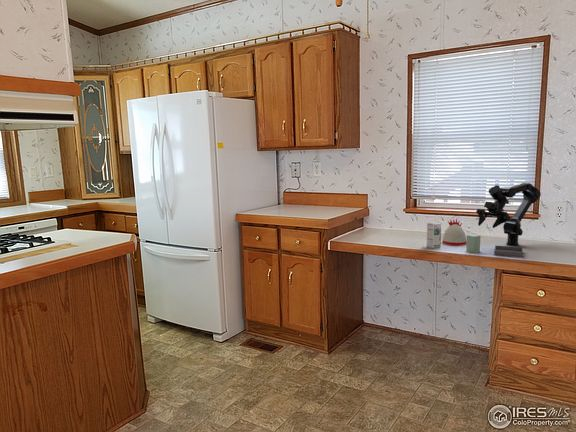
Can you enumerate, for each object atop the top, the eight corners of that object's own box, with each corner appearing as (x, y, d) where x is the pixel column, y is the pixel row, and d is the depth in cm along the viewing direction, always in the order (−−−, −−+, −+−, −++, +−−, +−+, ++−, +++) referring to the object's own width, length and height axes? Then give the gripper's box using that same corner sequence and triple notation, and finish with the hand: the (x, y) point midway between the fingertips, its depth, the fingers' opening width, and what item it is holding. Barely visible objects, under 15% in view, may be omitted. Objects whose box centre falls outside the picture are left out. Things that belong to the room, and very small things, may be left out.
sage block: (466, 250, 254) (467, 235, 253) (472, 249, 257) (473, 234, 255) (473, 252, 250) (474, 236, 249) (479, 251, 252) (480, 235, 251)
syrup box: (433, 248, 262) (433, 223, 260) (426, 246, 267) (426, 222, 265) (440, 247, 264) (441, 223, 262) (433, 245, 269) (434, 221, 267)
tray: (494, 249, 255) (495, 245, 255) (522, 251, 249) (522, 247, 249) (494, 255, 243) (494, 250, 243) (523, 257, 237) (523, 252, 237)
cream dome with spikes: (442, 240, 284) (443, 216, 282) (466, 241, 280) (467, 217, 277) (442, 244, 271) (443, 220, 269) (466, 246, 267) (467, 221, 264)
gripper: (478, 194, 262) (465, 215, 258) (507, 197, 246) (494, 219, 242) (486, 206, 267) (474, 227, 263) (516, 210, 251) (503, 232, 247)
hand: (485, 226), depth 254 cm, fingers open, 9 cm apart
